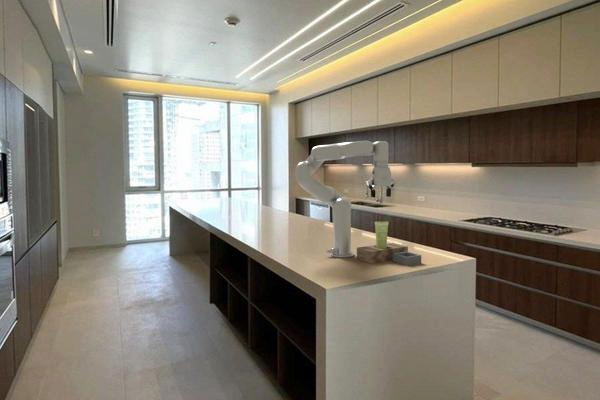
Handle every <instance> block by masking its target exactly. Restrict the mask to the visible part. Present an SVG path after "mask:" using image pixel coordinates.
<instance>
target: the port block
mask: <svg viewBox="0 0 600 400" xmlns="http://www.w3.org/2000/svg"><path fill="white" fill-rule="evenodd" d="M406 251H407V252H409V246H406V245H404V244H403V245H402V244H399V243H395V242H390V243H389V242H387V249H379V248H377V247H376V244H375V245H374V244H373V245H366V246H357V247H356V259H357V260H360V261H361V262H365V263H367V264H378V263H382V262H390V261H393V258H392V254H393V253H400V252H406Z"/></svg>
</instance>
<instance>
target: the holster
mask: <svg viewBox="0 0 600 400" xmlns="http://www.w3.org/2000/svg"><path fill="white" fill-rule="evenodd" d="M392 258H393V260H392V262H393V263H397V264H399V265H403V266H405V267H407V266H413V265H418V264H419V265H420V264H422V254H418V253H414V252H411V251H408V252H407V251H406V252H400V253H393V254H392Z"/></svg>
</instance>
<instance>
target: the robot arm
mask: <svg viewBox="0 0 600 400" xmlns="http://www.w3.org/2000/svg"><path fill="white" fill-rule="evenodd" d="M360 156H365V157H367V156H373V162H372V163H371V165H372V166H373V167H372V170H371V178H370V179H369V180H367V181H366V185H367V187H368V189H369V190H370V198H376V188H377V187H386V197H387V198H388V197H389V198H391V197H392V189H393V187H394V186H395V183H396V181H395V179H392V172H391V168H390V166H389V143H388V141H385V140H381V141H380V140H379V141H375V142H373V141H369V140H359V141H350V142H349V141H348V142H340V143H339V142H338V143H331V144H322V145H321V144H320V145H316V146H313V147H312V149H311V151H310V154H309V156H308V157H307V158H306V159H305V160H304V161H300V162H299V163H297V165H296V167H295V170H294V172H295V173H294V176H295V179H296V181H297V184H298V185H299V186H300V187H301V188H302V189H303V190H304V191H305V192H307V193H308V194H310V195H311V196H312V197H313V198H315V199H317V200H318V201H319V202H320V203H321V204H327V205H328V206H330V207H331V208H332V221H333V222H332V223H333V226H332V227H333V246H332V247H331V249H329V248H328V249H326V250H325V253H326V254H330V256H332V257H333V258H351V257H354V255H355V253H354V252H353V251H352V228H351V226H352V222H351V221H352V220H351V217H352V216H351V215H352V214H351V210H352V201H351V200H350V199H349V198H348V197H347V196H345V195H344V194H343V193H341V192H340V191H338V190H337V189H335V188H334V187H332V186H328V185H326V184H324V183H322V182H321V181H319V180H318V179H317V178H315V177H314V176H313V175H314V173H316V171H317V170H318V169H319V168H320V167H321V166H322V164H323V163H325V161H335V160H342V159H343V160H344V159H348V158H350V157H351V158H352V157H360Z"/></svg>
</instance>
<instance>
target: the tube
mask: <svg viewBox="0 0 600 400" xmlns="http://www.w3.org/2000/svg"><path fill="white" fill-rule="evenodd" d="M374 228H375V229H374V230H375V231H374V232H375V241H376V243H375V245H376V247H377V248H379V249H387V244H388V232H389V229H388V228H389V221H374Z"/></svg>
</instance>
